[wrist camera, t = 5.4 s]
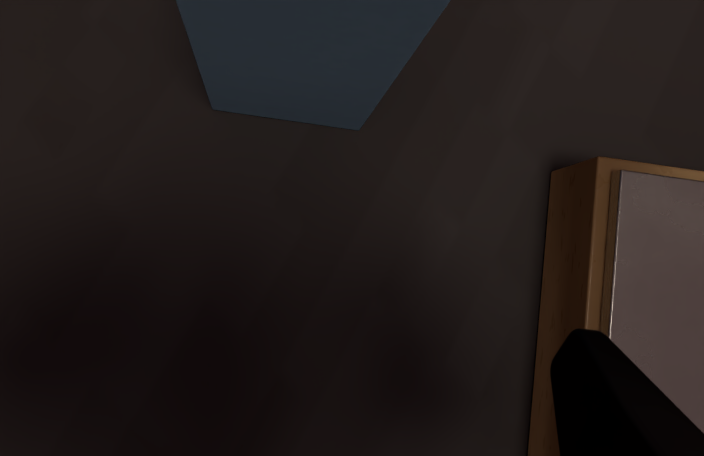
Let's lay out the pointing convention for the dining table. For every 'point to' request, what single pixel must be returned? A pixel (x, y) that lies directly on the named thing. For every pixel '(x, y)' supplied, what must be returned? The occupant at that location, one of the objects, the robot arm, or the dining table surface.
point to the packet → (304, 54)
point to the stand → (624, 278)
